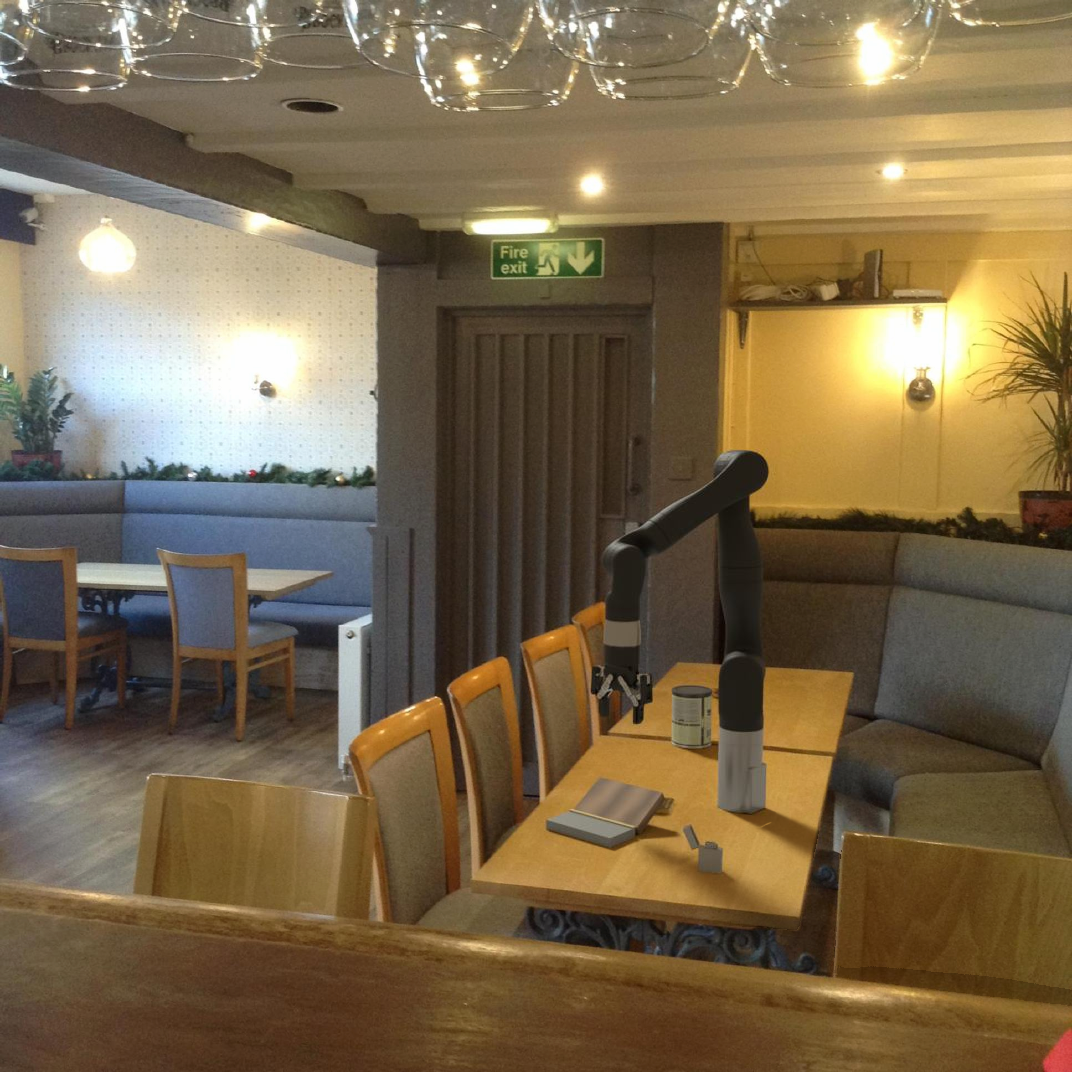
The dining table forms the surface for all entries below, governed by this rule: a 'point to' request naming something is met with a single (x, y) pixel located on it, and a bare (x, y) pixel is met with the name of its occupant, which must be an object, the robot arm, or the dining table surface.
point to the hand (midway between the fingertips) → (620, 720)
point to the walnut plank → (621, 803)
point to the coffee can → (691, 716)
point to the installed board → (591, 828)
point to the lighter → (705, 852)
